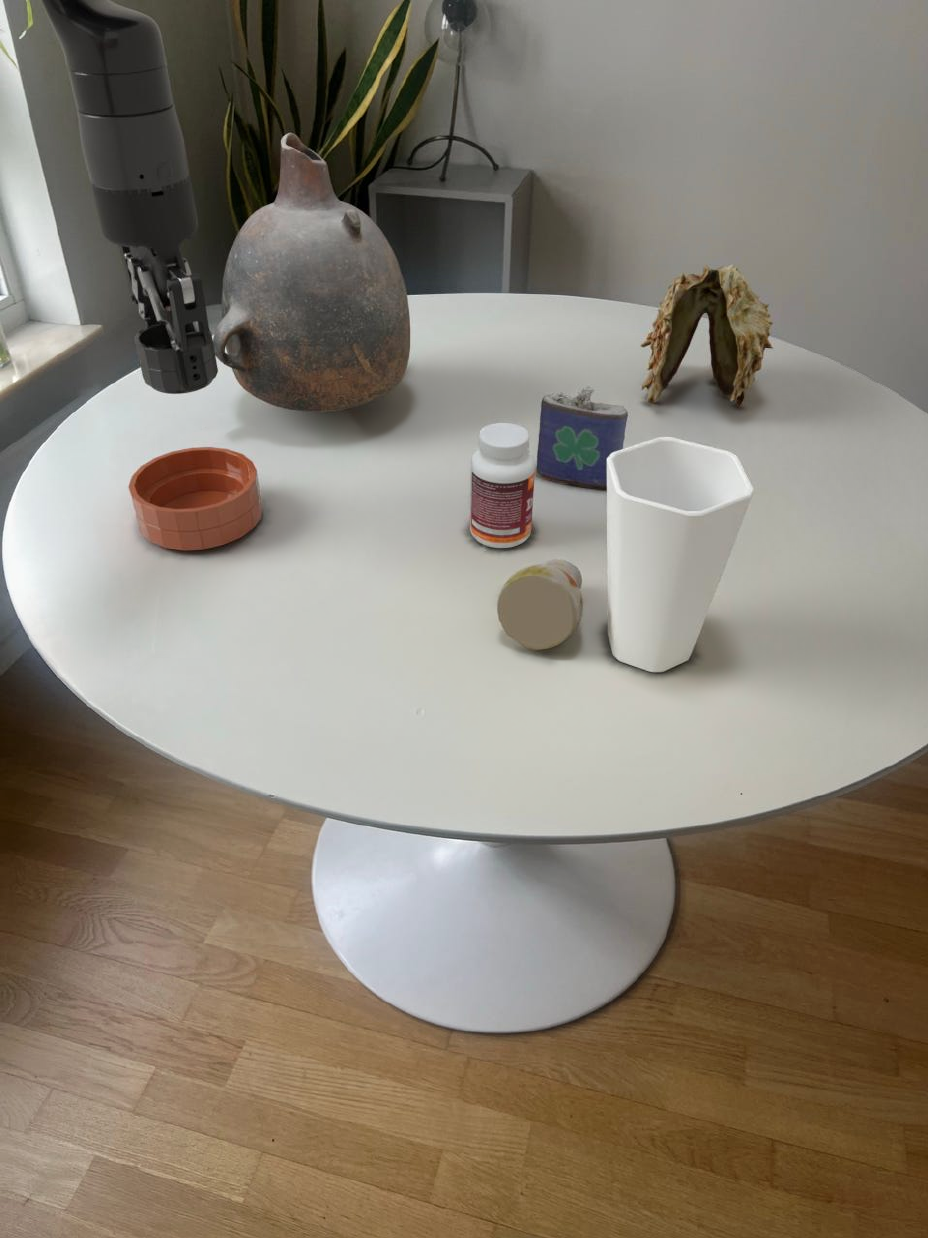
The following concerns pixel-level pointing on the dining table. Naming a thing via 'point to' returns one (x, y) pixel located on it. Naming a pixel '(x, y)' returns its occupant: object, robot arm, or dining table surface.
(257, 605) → the dining table surface
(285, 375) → the jug
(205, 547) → the terracotta bowl
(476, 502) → the pill bottle
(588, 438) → the flask
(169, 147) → the robot arm
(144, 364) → the black bowl
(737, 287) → the seashell
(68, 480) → the dining table surface
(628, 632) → the cup
